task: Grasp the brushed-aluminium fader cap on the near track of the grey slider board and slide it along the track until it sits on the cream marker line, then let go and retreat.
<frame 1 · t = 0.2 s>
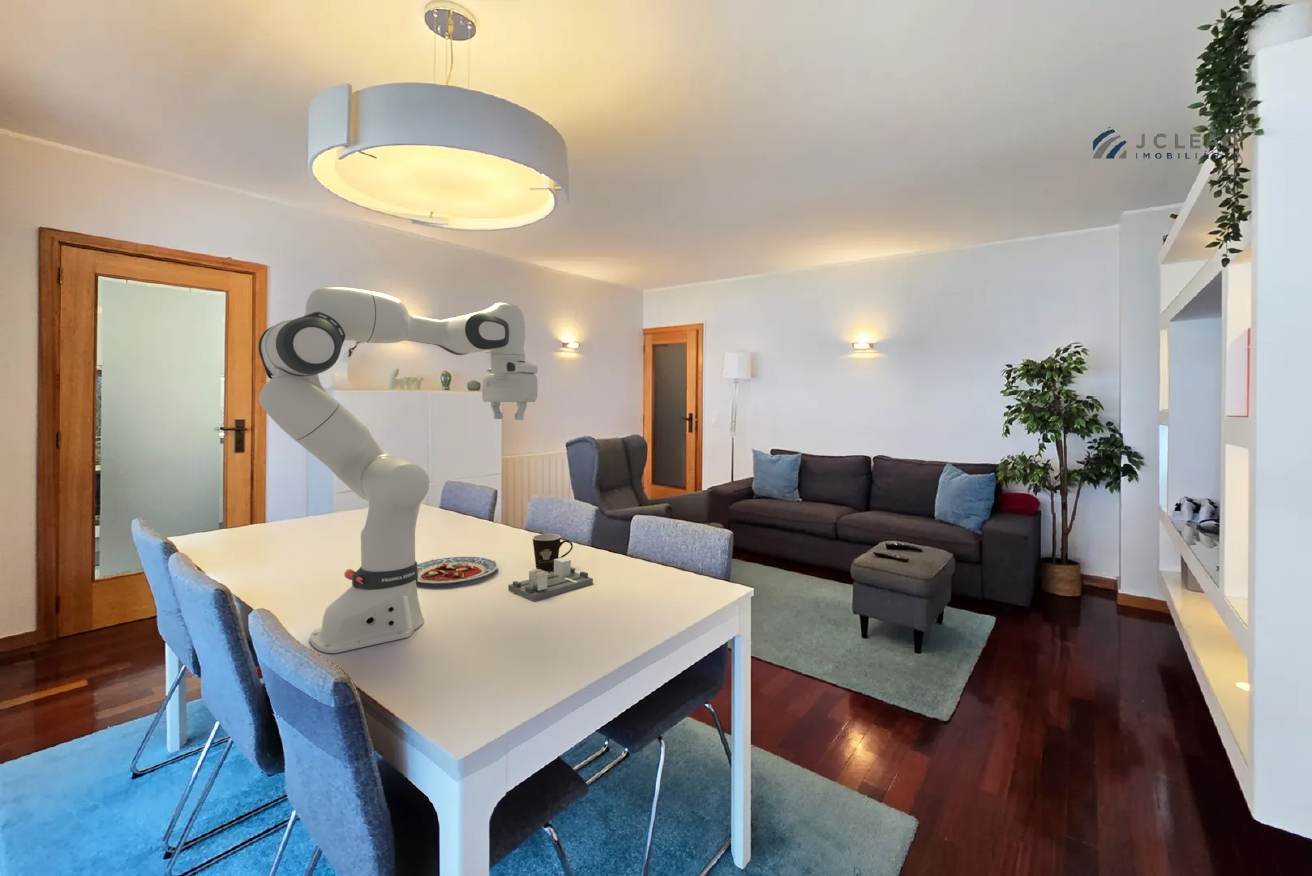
hand: (508, 419, 145), 47 cm above the table, fingers open, 8 cm apart
ceramic plate: (452, 576, 163), on the table
grey slider board: (551, 587, 153), on the table
coffee mug: (551, 569, 170), on the table
fader: (538, 579, 146), point 4 cm above the table, slide at 0.0 cm
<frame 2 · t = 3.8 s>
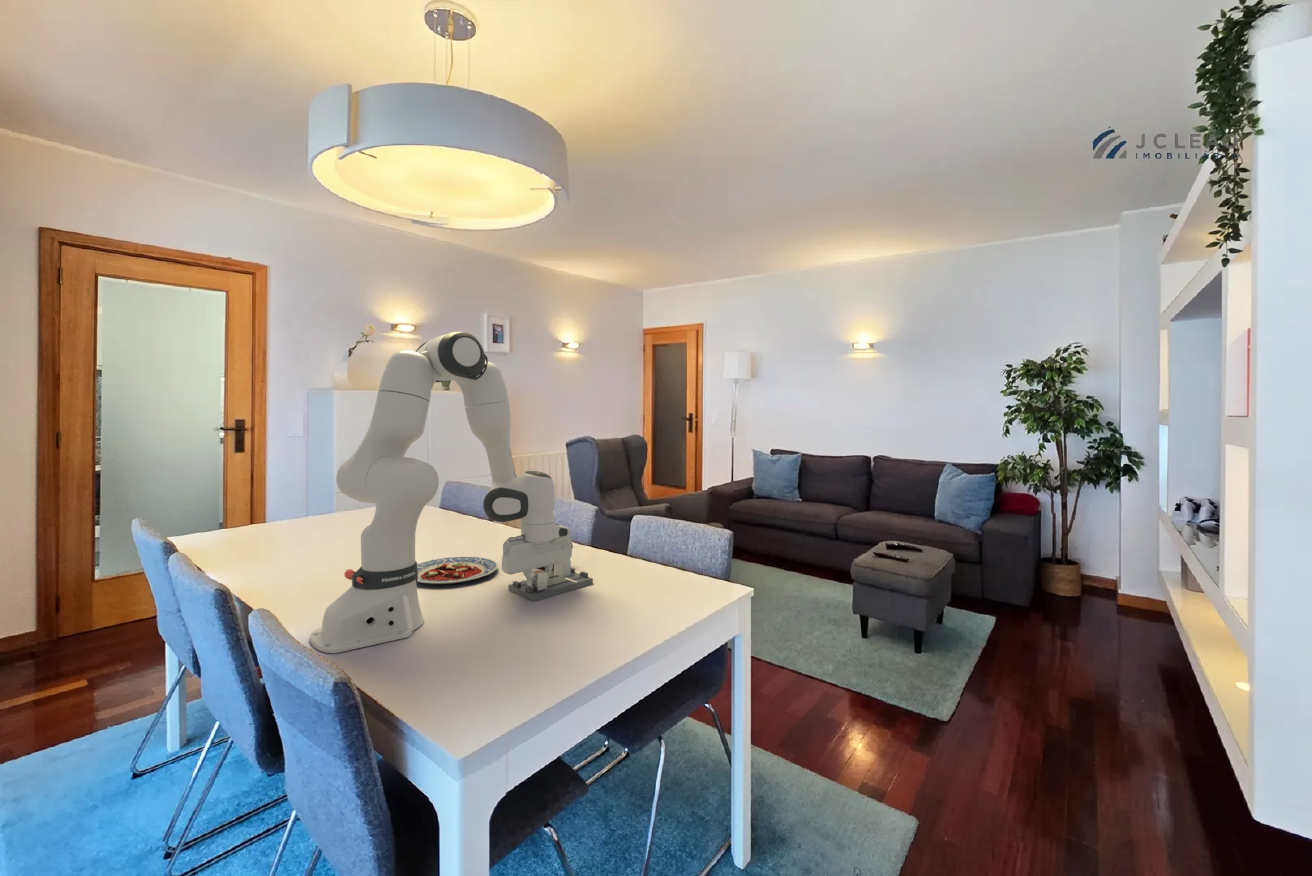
hand: (538, 583, 146), 3 cm above the table, fingers closed on fader, 3 cm apart
fader: (538, 579, 146), point 4 cm above the table, slide at 0.0 cm, touching gripper
everything else where it was.
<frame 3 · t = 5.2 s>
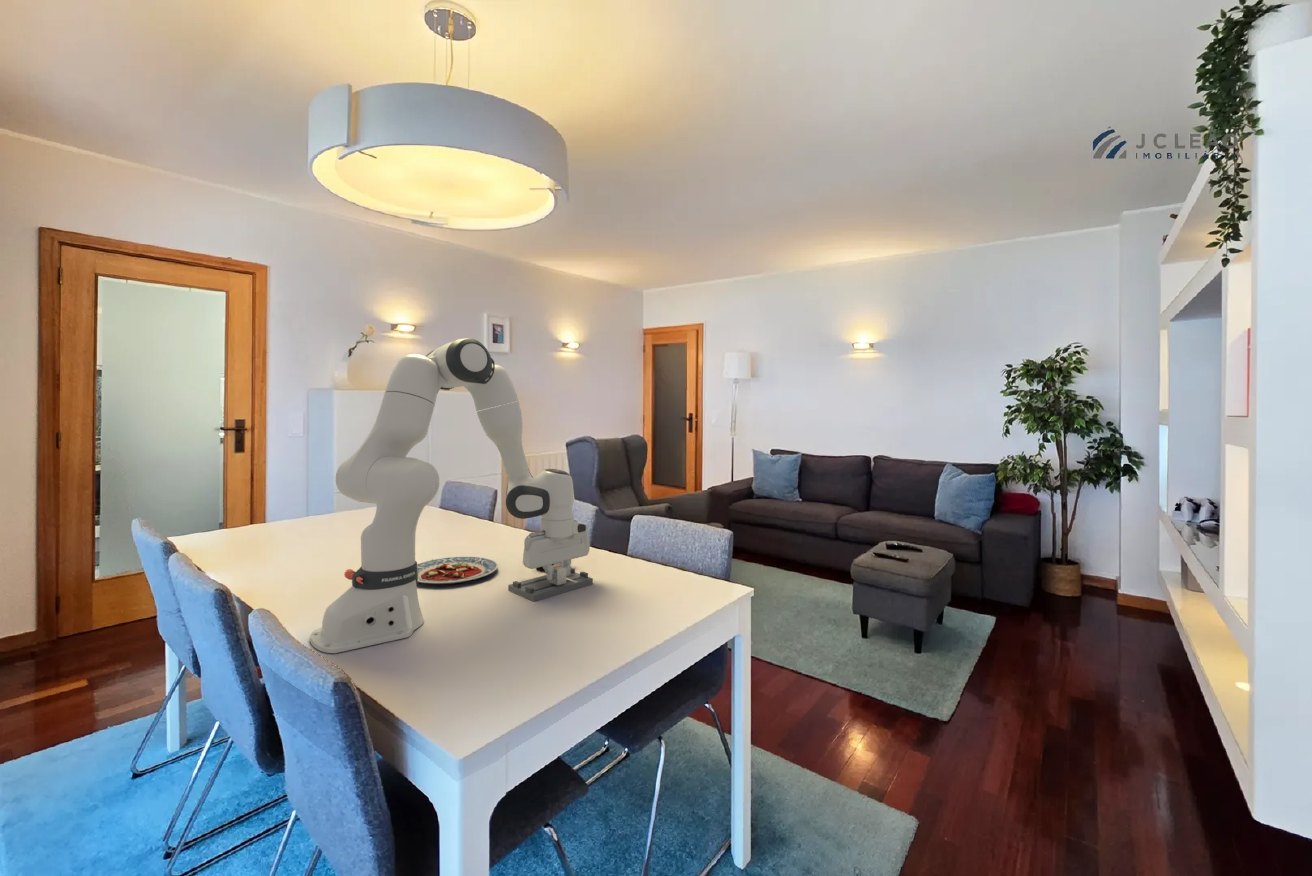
hand: (557, 577, 150), 3 cm above the table, fingers closed on fader, 3 cm apart
fader: (557, 574, 150), point 4 cm above the table, slide at 6.3 cm, touching gripper
everything else where it was.
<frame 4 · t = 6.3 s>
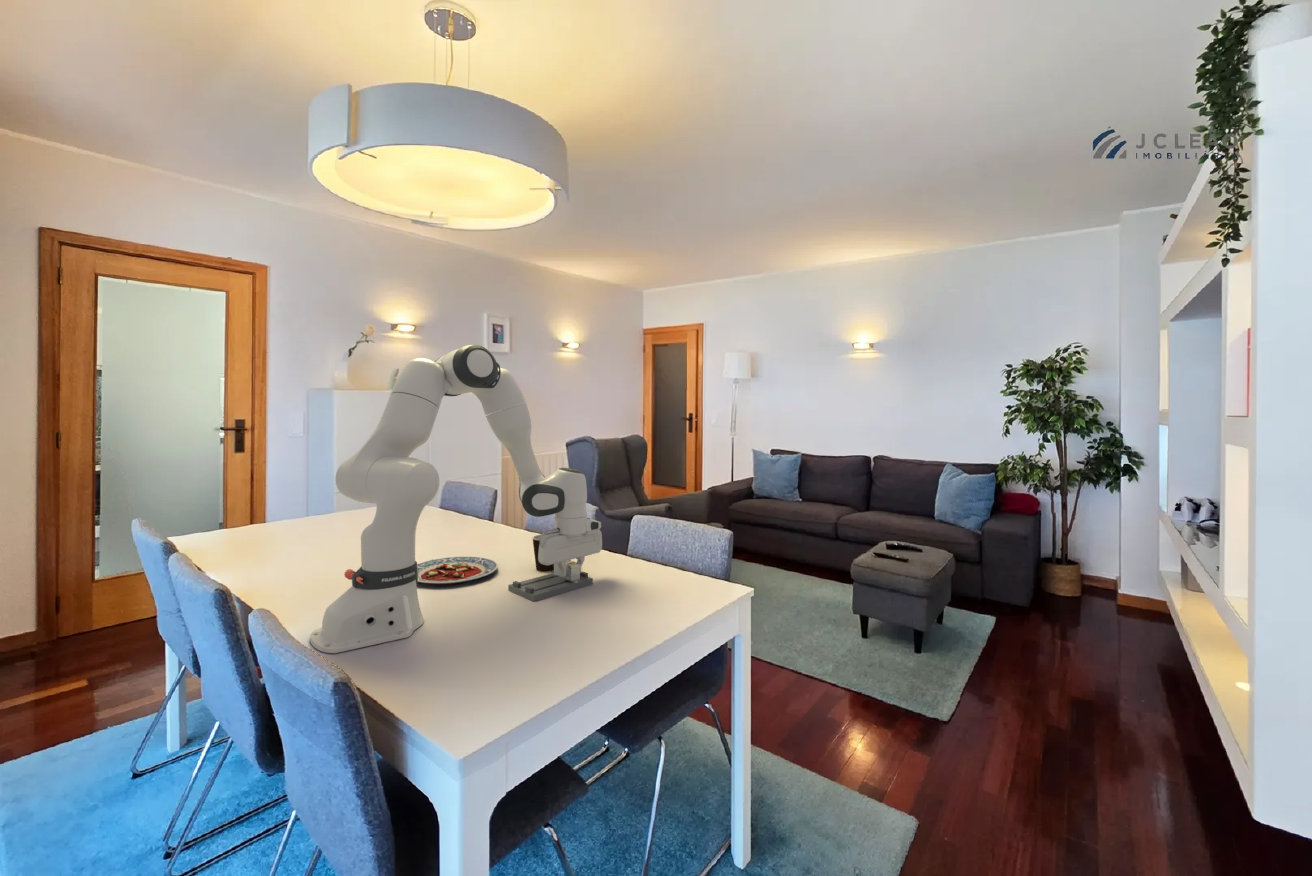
hand: (571, 574, 154), 3 cm above the table, fingers closed on fader, 3 cm apart
fader: (571, 570, 154), point 4 cm above the table, slide at 11.1 cm, touching gripper
everything else where it was.
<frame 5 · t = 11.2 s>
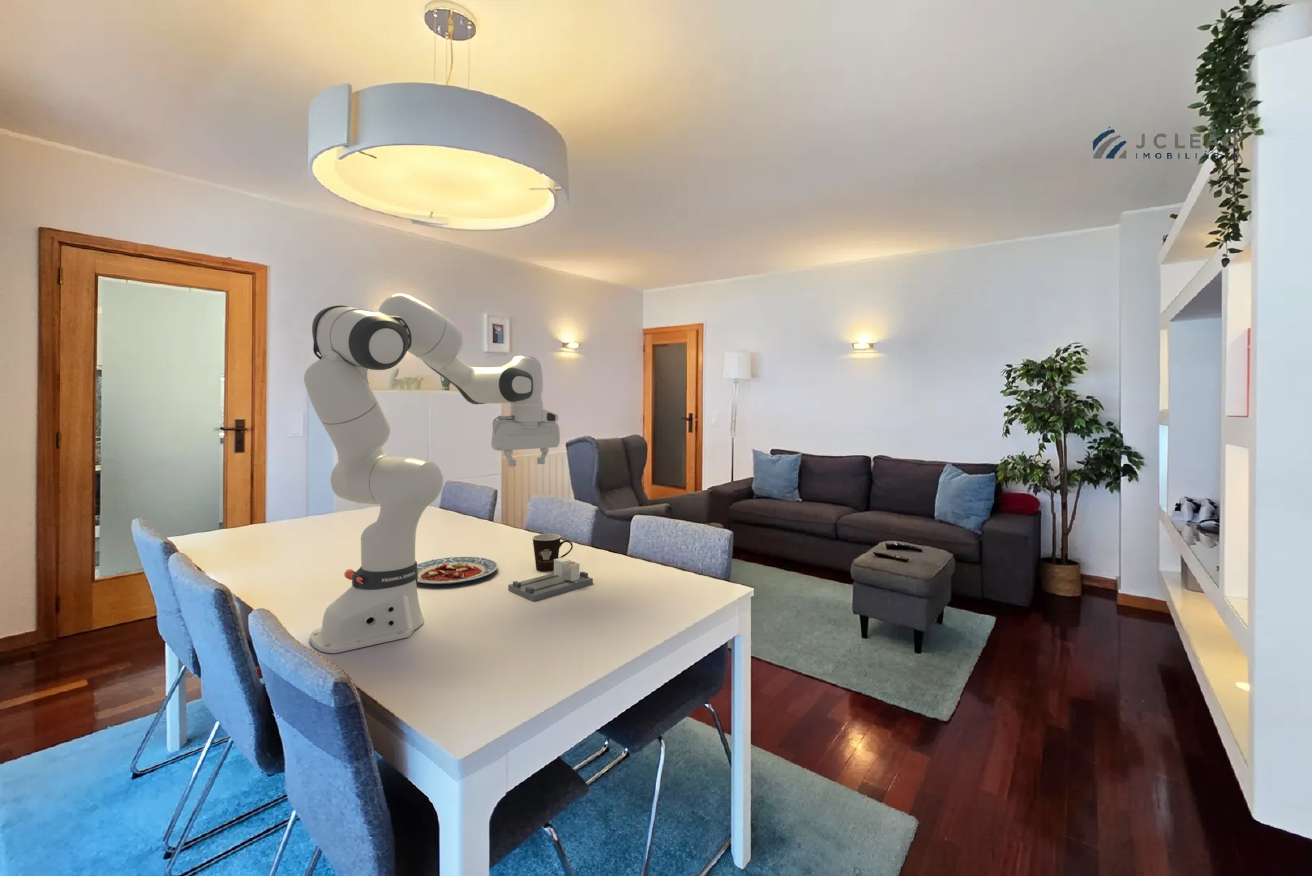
hand: (526, 465, 152), 34 cm above the table, fingers open, 8 cm apart
fader: (570, 570, 154), point 4 cm above the table, slide at 10.9 cm
everything else where it was.
at the end: fader slide at 10.9 cm; the gripper is holding nothing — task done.
